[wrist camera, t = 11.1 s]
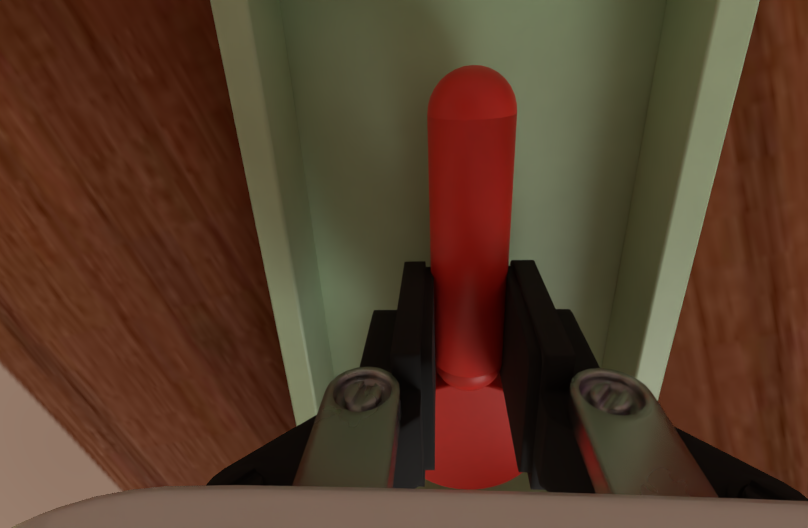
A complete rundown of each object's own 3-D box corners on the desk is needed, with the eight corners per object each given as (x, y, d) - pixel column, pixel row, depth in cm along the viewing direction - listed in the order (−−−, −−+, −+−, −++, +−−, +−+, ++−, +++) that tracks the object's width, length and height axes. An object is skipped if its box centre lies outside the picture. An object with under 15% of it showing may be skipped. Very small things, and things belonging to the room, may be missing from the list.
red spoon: (375, 67, 10) (363, 72, 8) (566, 58, 9) (592, 61, 8) (401, 451, 15) (397, 501, 13) (528, 454, 14) (539, 505, 13)
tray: (248, -52, 10) (192, -81, 8) (706, -86, 9) (793, -128, 7) (331, 457, 16) (314, 522, 14) (598, 463, 16) (625, 533, 13)
